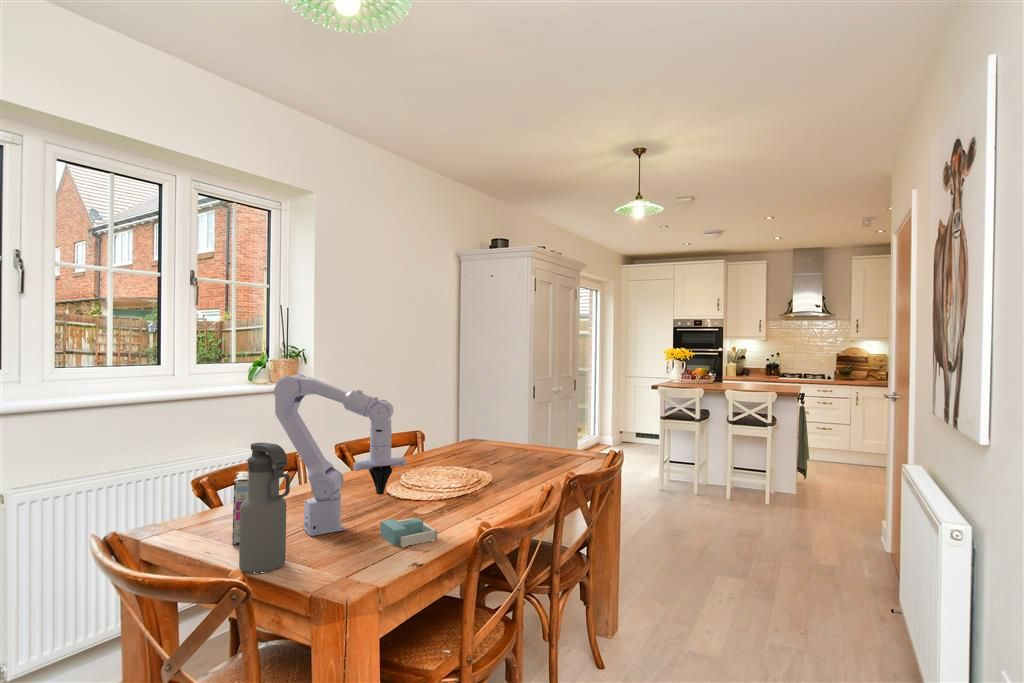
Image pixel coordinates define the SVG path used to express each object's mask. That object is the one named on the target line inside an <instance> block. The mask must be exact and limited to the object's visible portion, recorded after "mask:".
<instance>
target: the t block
mask: <svg viewBox="0 0 1024 683" xmlns="http://www.w3.org/2000/svg"><path fill="white" fill-rule="evenodd" d="M414 518H415V519H411V518H408V519H409V520H406V519H403V520H404V521H400V520H395V519H393V518H391V519H386V520H381V521H380V533H379V534H380V537H381V536H382V537H383V538H382V537H381V538H382V539H384V540H385V539H386V540H387V541H386V540H385V541H386V542H388V543H389V544H390V543H391V544H390V545H392V546H393V545H394V546H393V547H396V546H395V545H398V546H400V545H399V544H400V543H401V537H403V536H408V535H413V534H418V533H423V522H424V520H422V519H420V518H418V517H414ZM397 521H398V522H397Z"/></svg>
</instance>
